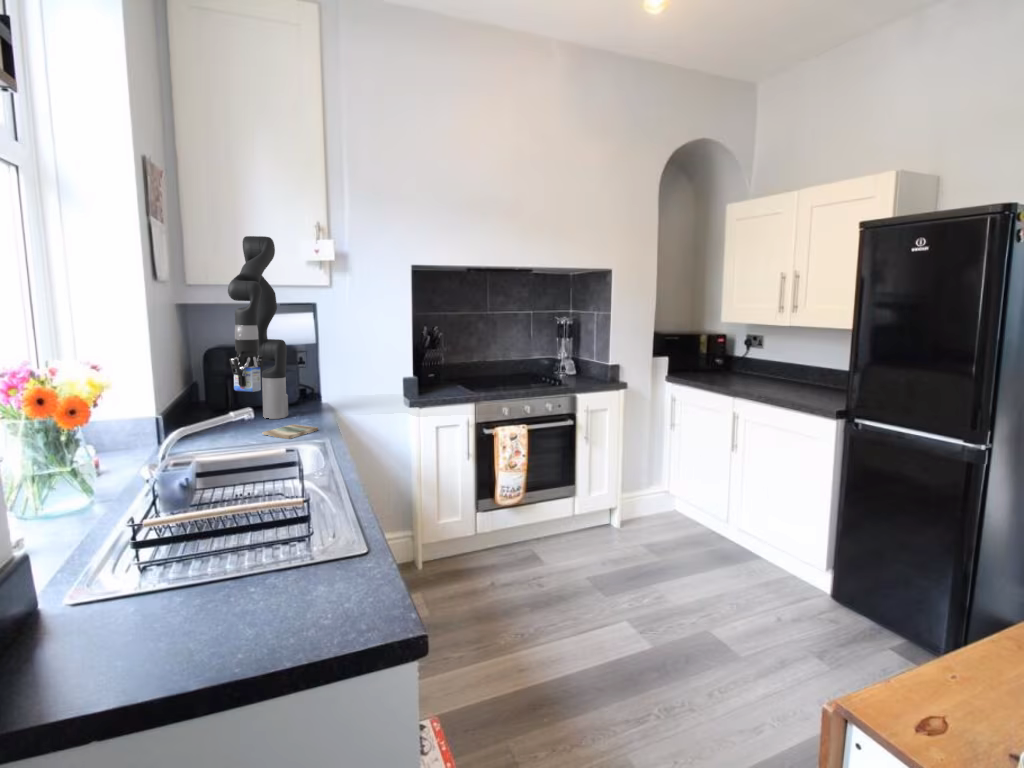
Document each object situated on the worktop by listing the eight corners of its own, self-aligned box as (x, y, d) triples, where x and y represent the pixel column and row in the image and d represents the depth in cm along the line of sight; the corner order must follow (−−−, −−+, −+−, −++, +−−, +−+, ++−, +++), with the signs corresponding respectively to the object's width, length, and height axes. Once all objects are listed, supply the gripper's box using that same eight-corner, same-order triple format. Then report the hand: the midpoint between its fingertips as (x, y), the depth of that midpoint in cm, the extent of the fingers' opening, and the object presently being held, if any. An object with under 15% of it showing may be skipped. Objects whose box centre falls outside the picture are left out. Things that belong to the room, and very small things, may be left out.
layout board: (293, 427, 219) (293, 423, 219) (318, 430, 215) (318, 426, 215) (262, 435, 204) (262, 431, 204) (288, 439, 200) (288, 435, 200)
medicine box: (233, 390, 198) (232, 366, 196) (242, 388, 202) (241, 365, 201) (252, 392, 196) (252, 367, 195) (261, 390, 200) (260, 366, 199)
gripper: (253, 336, 204) (255, 382, 206) (221, 338, 191) (223, 387, 193) (270, 337, 202) (271, 384, 204) (238, 339, 188) (240, 389, 191)
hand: (248, 385), depth 199 cm, fingers closed on medicine box, 4 cm apart
